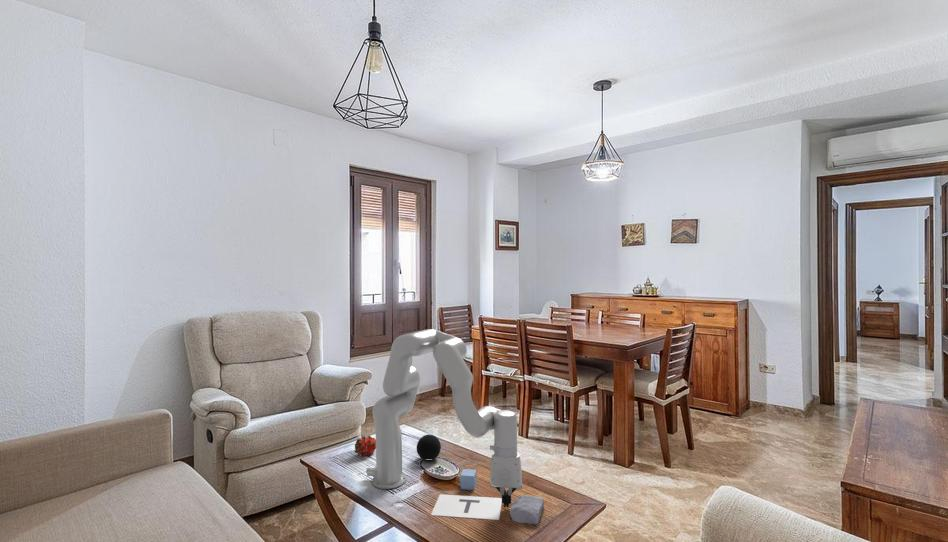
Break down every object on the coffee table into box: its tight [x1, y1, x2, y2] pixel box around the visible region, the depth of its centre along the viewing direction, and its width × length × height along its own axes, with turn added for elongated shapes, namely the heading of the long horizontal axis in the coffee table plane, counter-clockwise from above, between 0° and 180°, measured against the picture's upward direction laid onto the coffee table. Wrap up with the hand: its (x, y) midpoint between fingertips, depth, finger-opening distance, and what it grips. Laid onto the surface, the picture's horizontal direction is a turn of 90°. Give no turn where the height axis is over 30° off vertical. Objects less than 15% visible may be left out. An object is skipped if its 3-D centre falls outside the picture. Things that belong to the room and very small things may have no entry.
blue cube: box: [460, 468, 477, 491], centre depth 163 cm, size 5×5×5 cm
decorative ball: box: [416, 434, 442, 461], centre depth 186 cm, size 10×10×10 cm
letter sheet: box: [430, 493, 503, 521], centre depth 149 cm, size 22×13×1 cm, turn 81°
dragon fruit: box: [354, 435, 376, 458], centre depth 192 cm, size 8×8×12 cm
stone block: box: [509, 494, 545, 525], centre depth 145 cm, size 12×5×10 cm
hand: (506, 505), depth 147 cm, fingers closed
